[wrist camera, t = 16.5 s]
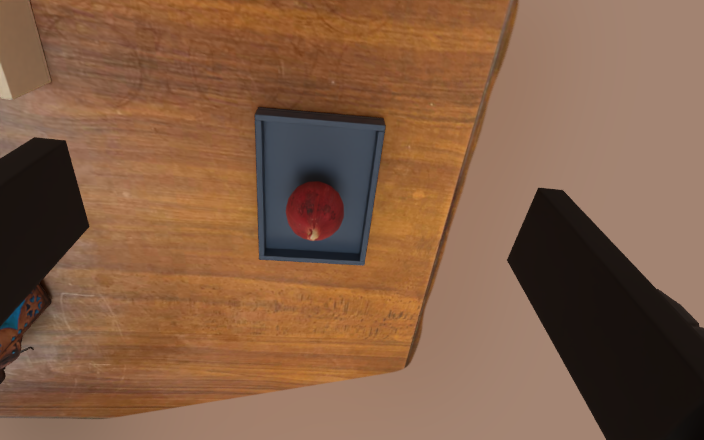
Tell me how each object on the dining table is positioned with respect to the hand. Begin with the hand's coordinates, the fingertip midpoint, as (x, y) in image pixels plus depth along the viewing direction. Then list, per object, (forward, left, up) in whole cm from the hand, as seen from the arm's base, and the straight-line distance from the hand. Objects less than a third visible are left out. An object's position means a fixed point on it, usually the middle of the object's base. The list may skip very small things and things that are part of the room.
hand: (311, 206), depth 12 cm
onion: (+12, +10, -28) cm, 32 cm away
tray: (+12, +10, -29) cm, 33 cm away
